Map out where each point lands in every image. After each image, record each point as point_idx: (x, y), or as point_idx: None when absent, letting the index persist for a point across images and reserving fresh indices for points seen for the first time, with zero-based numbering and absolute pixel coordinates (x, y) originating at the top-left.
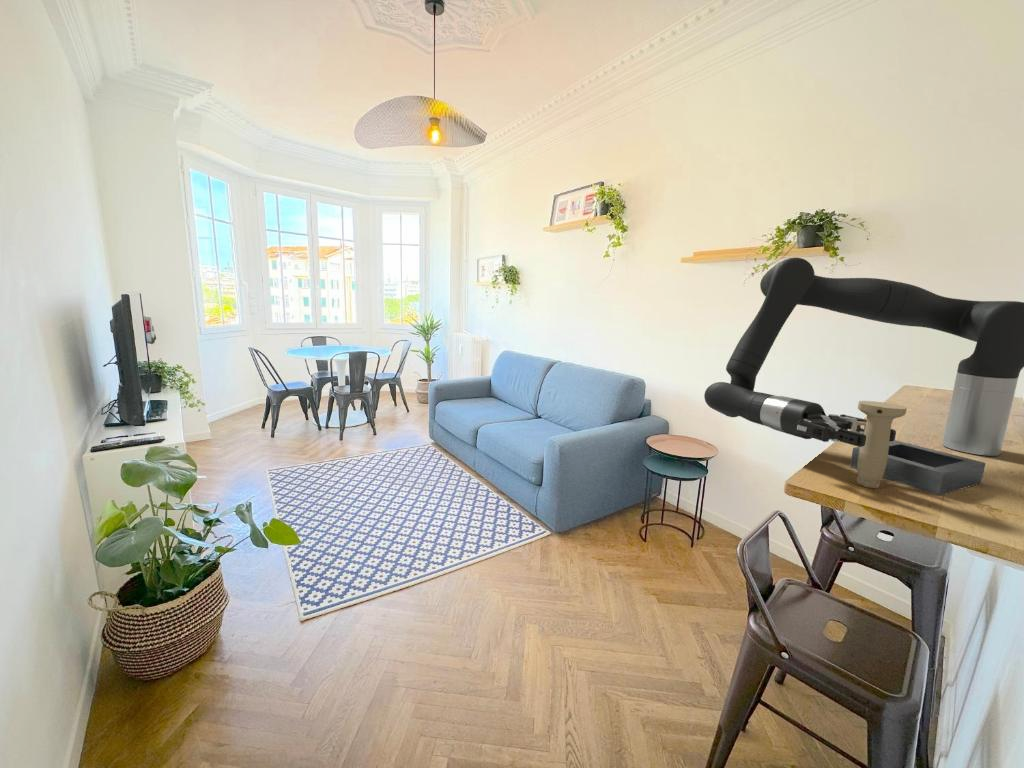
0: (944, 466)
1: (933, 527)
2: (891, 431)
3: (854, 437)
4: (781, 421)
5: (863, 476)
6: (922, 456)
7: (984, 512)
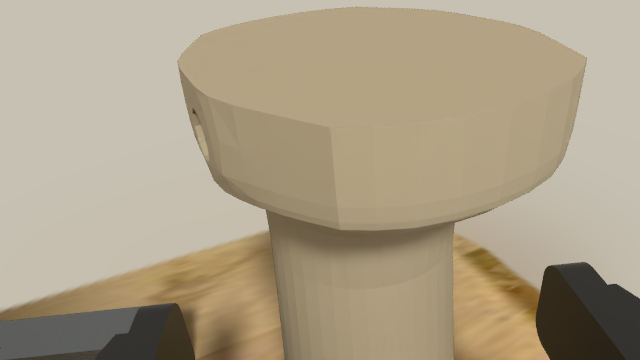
0: (41, 349)
1: (480, 253)
2: (174, 316)
3: (636, 306)
4: None
5: None
6: None
7: (231, 276)
